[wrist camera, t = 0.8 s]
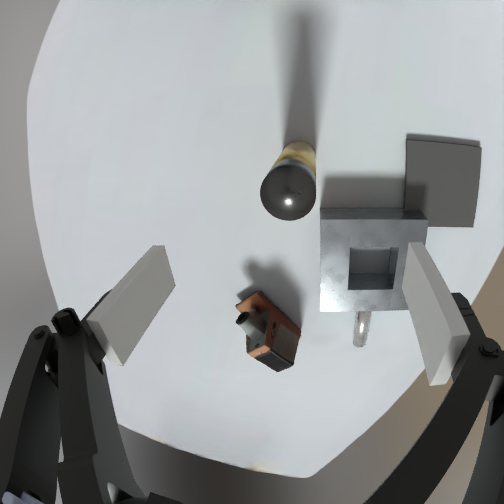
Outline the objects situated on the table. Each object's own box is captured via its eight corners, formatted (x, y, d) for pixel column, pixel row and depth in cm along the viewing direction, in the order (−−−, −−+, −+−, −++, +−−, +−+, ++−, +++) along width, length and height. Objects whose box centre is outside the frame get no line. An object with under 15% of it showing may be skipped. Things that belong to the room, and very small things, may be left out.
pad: (405, 139, 27) (407, 140, 27) (479, 146, 25) (481, 147, 24) (402, 224, 32) (403, 226, 31) (471, 225, 29) (473, 227, 29)
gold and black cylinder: (281, 141, 30) (257, 168, 18) (314, 140, 30) (314, 166, 18) (284, 173, 32) (263, 221, 20) (316, 172, 31) (316, 220, 19)
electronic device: (258, 286, 40) (247, 323, 34) (303, 329, 42) (299, 368, 36) (236, 301, 42) (222, 338, 36) (280, 341, 44) (273, 379, 38)
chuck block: (319, 208, 33) (320, 219, 30) (419, 208, 30) (428, 219, 27) (319, 337, 42) (318, 354, 39) (396, 336, 39) (400, 353, 36)
